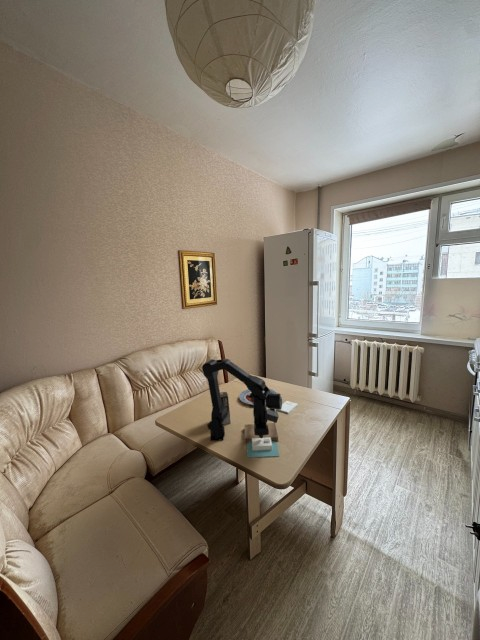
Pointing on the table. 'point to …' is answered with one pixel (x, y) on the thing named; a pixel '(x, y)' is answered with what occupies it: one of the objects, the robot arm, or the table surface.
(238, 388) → the table surface
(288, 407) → the external hard drive
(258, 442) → the white panel with tab
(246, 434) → the brown flat block
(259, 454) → the mat
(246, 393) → the ceramic plate
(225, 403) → the coffee box
